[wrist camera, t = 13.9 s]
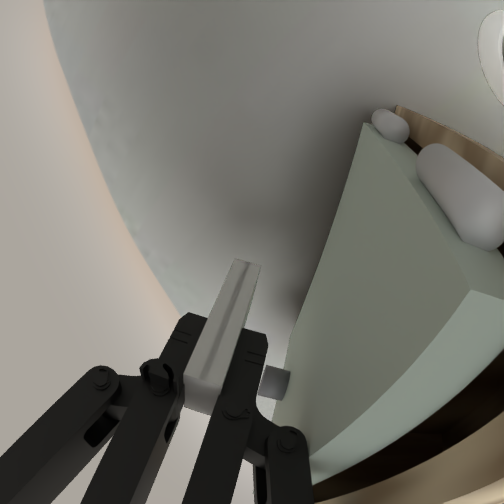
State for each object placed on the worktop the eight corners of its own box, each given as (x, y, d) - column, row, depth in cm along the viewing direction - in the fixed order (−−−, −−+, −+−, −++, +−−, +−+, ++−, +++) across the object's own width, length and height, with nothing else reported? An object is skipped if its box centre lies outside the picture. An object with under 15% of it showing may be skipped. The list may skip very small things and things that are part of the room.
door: (341, 94, 13) (406, 165, 2) (397, 112, 13) (571, 252, 2) (272, 332, 24) (228, 487, 13) (308, 341, 23) (278, 498, 13)
